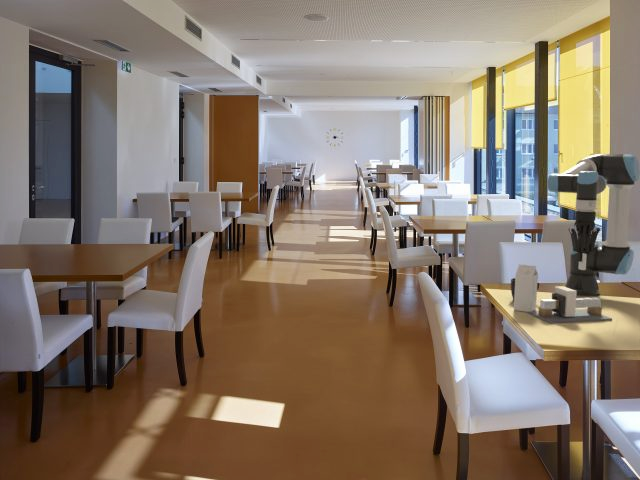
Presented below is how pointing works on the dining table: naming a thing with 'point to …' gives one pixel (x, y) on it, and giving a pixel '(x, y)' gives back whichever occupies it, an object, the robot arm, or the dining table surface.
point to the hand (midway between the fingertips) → (581, 269)
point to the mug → (514, 287)
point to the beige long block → (591, 303)
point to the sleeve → (568, 299)
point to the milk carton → (525, 288)
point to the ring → (562, 303)
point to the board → (572, 317)
